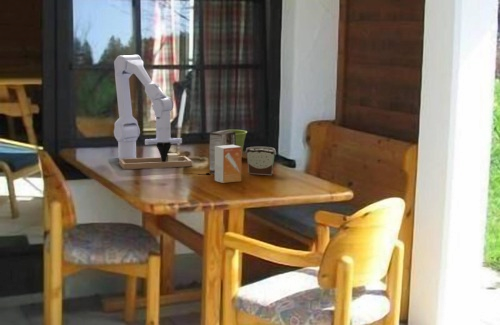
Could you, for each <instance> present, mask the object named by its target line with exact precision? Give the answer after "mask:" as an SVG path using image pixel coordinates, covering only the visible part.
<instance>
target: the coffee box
mask: <svg viewBox="0 0 500 325" xmlns="http://www.w3.org/2000/svg"><path fill="white" fill-rule="evenodd" d="M227 130H228V129H223V130H218V131H213V132H209V174H210V175H215V146H223V145H236V137H235V132H233V131H227Z"/></svg>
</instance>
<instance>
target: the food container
mask: <svg viewBox="0 0 500 325" xmlns="http://www.w3.org/2000/svg"><path fill="white" fill-rule="evenodd" d="M244 153H245V154H246V160H247V169H248V170H247V172H248V174H250V175H261V176H263V175H265V176H273V172H274V164H275V156H276V155H277V151H276V149H275V148H274V147H271V146H250V147H246V149H245V151H244Z"/></svg>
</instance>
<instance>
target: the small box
mask: <svg viewBox="0 0 500 325" xmlns="http://www.w3.org/2000/svg"><path fill="white" fill-rule="evenodd" d="M241 156H243V152H242V147H240V146H236V145H223V146H215V171H214V172H215V174H214V181H215V182H217V183H222V184H225V183H235V182H238V183H239V182H242V157H241Z"/></svg>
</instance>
